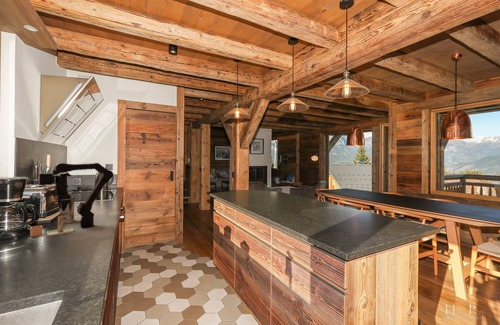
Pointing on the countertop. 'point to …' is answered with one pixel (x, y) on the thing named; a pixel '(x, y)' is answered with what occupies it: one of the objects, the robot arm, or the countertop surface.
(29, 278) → the countertop surface
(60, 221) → the pin
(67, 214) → the coffee box
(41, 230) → the orange open box
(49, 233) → the tray
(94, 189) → the robot arm
